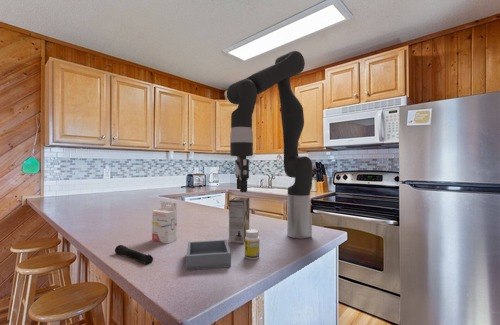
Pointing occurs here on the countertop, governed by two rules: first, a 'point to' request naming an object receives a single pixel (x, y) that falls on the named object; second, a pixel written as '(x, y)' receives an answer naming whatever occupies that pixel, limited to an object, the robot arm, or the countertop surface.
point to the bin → (208, 255)
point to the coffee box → (238, 219)
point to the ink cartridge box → (164, 223)
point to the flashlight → (133, 254)
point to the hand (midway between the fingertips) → (241, 190)
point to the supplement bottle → (252, 244)
